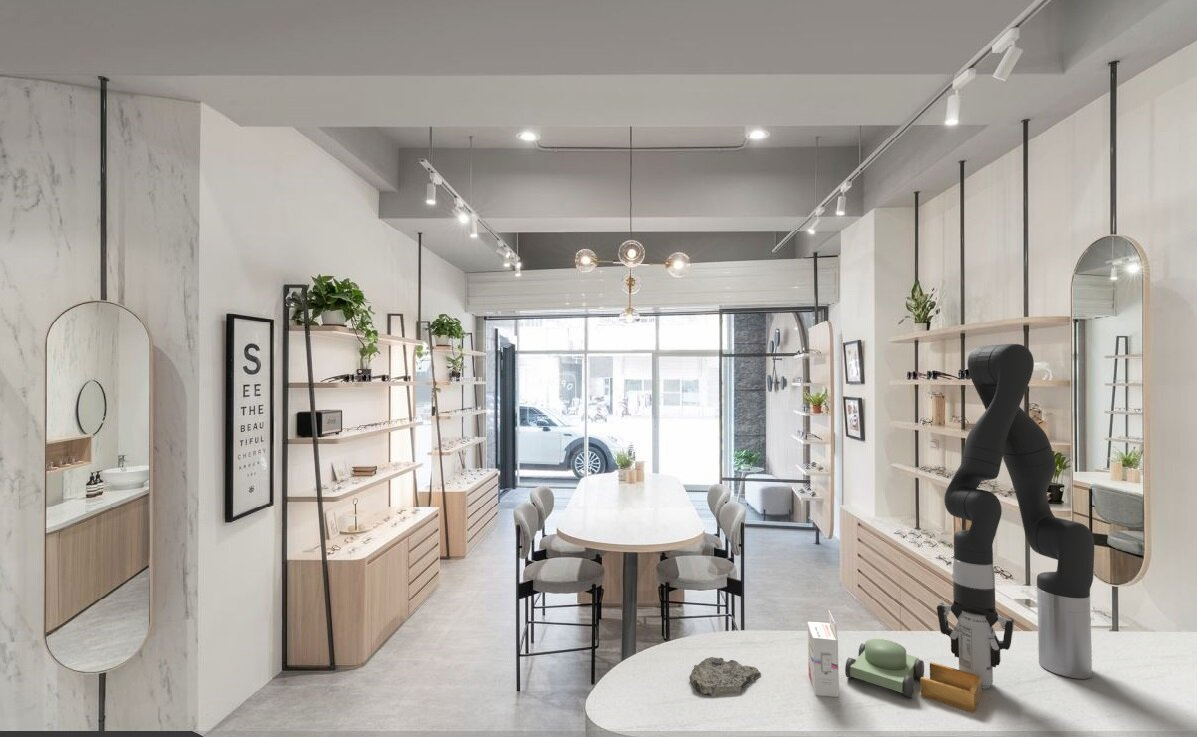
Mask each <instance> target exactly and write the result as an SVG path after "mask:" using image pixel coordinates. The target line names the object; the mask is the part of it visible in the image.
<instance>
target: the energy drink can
mask: <svg viewBox="0 0 1197 737" xmlns="http://www.w3.org/2000/svg"><path fill="white" fill-rule="evenodd" d="M963 614H965V616H963V617H962V615H963ZM961 617H962V618H961ZM980 617H981V618H983V620H984V622H985V623H984V622H983V621H982V619H981V618H980ZM985 617H986V616H983V615H979V614H975V613H970V612H966V611H962V613H961V615H960V616H959V617H958V619H957V623H958V622H959V620H960V626H959V627H960V632H959V635H958V647H959V658H958V670H961V671H964V672H968V673H972V674H975V675H979V676H981V684H982V689H989V688H990V686H991V685H992V684H993V682H994V679H993V678H994V677H993V676H994V674H993V673H994V672H993V668H994V667H992V666H991V648H992V646H991V644H990V639H988V633H987V627H988V628H989V630H990V631H991V633H992V627H993V626H992V627H990V625H989V623H988V621H987V620H986V618H985ZM960 618H961V619H960Z"/></svg>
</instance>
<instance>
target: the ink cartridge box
mask: <svg viewBox="0 0 1197 737" xmlns="http://www.w3.org/2000/svg"><path fill="white" fill-rule="evenodd" d="M828 620H829V622H821V621H820V622H818V621H807V648H808V649H807V650H808V652H807V653H808V655H807V657H808V677H809V679H810V682H811V686H812V689H813V693H814V696H822V697H823V696H824V697H832V698H833V697H835V698H840V682H839V681H840V679H839V676H840V674H839V640H838V639H839V638H838V631H837V625H836V624H837V623H836V620H834V617H833V615H832V613H831V610H830V609H828Z"/></svg>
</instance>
